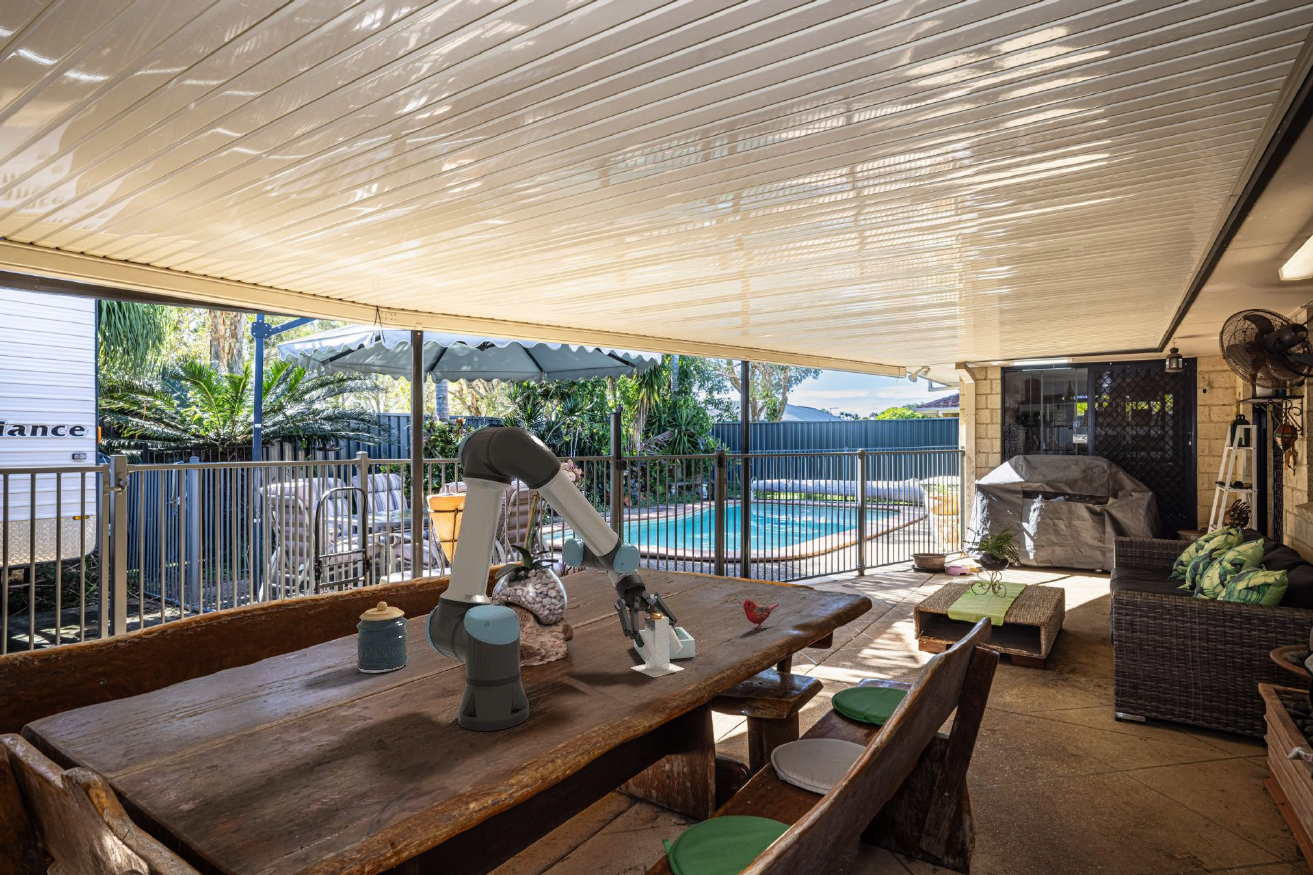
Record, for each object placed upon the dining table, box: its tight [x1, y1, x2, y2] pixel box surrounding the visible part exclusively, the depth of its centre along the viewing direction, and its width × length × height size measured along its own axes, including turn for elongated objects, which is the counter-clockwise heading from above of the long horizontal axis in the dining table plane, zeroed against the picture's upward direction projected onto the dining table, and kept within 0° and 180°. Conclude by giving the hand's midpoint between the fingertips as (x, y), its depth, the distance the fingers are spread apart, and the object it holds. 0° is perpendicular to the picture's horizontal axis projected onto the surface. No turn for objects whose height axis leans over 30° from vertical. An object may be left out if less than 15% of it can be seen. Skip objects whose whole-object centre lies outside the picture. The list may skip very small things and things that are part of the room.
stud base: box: [630, 663, 685, 678], centre depth 186 cm, size 10×10×6 cm
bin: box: [633, 626, 696, 662], centre depth 201 cm, size 14×14×6 cm
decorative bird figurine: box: [742, 599, 779, 630], centre depth 230 cm, size 3×18×10 cm, turn 132°
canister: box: [355, 601, 409, 670], centre depth 197 cm, size 13×13×18 cm
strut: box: [644, 613, 671, 672], centre depth 186 cm, size 4×4×14 cm
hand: (665, 653), depth 184 cm, fingers open, 9 cm apart
